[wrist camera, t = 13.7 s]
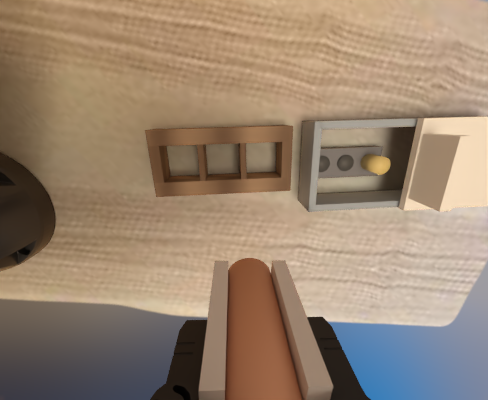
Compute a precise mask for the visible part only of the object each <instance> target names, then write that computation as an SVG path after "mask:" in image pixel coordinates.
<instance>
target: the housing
mask: <svg viewBox="0 0 488 400" xmlns="http://www.w3.org/2000/svg"><path fill="white" fill-rule="evenodd" d="M468 117H485V116H468ZM434 118H451V117H434ZM417 121H418V118H399V119H365V120H331V121H303V126H302V144H301V161H300V179H299V197H298V201H299V202H300V203H301V204H302V205H303V206H304V207H305V208H306V210H307V211H308V212H314V211H333V210H352V209H370V208H389V207H399V204H400V199H401V195H402V190H386V191H365V192H345V193H324V194H317V184H318V178H335V177H358V176H378V174H379V175H381V174H384V173H386V172H387V171H388V170H389V168H390V160H389V159H388V158H386V157H382V156H381V153H382V147H381V146H361V147H334V148H321V136H322V129H350V128H382V127H414V126H416V125H417Z"/></svg>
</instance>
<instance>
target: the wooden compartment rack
mask: <svg viewBox="0 0 488 400" xmlns="http://www.w3.org/2000/svg"><path fill="white" fill-rule="evenodd" d="M145 132H146V138H147V144H148V150H149V156H150V162H151V168H152V174H153V180H154V186H155V192H156V197H164V196H185V195H206V194H227V193H248V192H270V191H290V185H291V162H292V139H293V126H288V125H281V126H248V127H215V128H182V129H153V130H145ZM259 142H277V148H276V172H264V173H246V143H259ZM230 143H239V163H240V174H217V175H208V170H207V158H206V146H205V144H230ZM172 145H197V150H198V161H199V172H200V175H193V176H170V170H169V163H168V155H167V148H166V146H172Z"/></svg>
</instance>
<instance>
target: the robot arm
mask: <svg viewBox="0 0 488 400" xmlns="http://www.w3.org/2000/svg"><path fill="white" fill-rule="evenodd" d="M54 226H55V216H54V210H53V206H52V203H51V201H50V199H49V197H48V195H47V193H46V191H45V190H44V188H43V187H42V185H41V184H40V183H39V182H38V180H37V179H36V178H35V177H34V176H33V175H32V174H31V173H30V172H29V171H28V170H26V169H25V168H24V167H23V166H21V165H20V164H18V163H17V162H15V161H14V160H12V159H10V158H9V157H7V156H5V155H3V154H0V271H3V270H6V269H9V268H12V267H15V266H17V265H19V264H21V263H23V262H25V261H26V260H28V259H29V258H31V257H32V256H34V255H35V254H36V253H38V252H39V251H41V250H42V249H43V248H44V247H45V246H46V245H47V244H48V242H49V241H50V239H51V237H52V234H53V231H54ZM271 277H272V281H273V285H274V289H275V293H276V297H277V301H278V305H279V309H280V313H281V317H282V321H283V325H284V329H285V333H286V337H287V341H288V345H289V349H290V353H291V357H292V361H293V365H294V369H295V373H296V377H297V380H298V384H299V388H300V392H301V396H302V400H371V399H369V398H368V397H367V396H366V395H365V393H364V391H363V390H362V388H361V386H360V384H359V382H358V380H357V378H356V376H355V374H354V372H353V370H352V368H351V366H350V363H349V361H348V359H347V357H346V355H345V353H344V351H343V350H342V347H341V345H340V343H339V341H338V340H337V337H336V335H335V333H334V331H333V328H332V327H331V325H330V324H329V323H328V322H327V321H326V320H325V319H324V318H323V317H307V316H306V314H305V311H304V308H303V306H302V303H301V301H300V298H299V295H298V293H297V290H296V288H295V285H294V282H293V280H292V277H291V275H290V272H289V269H288V267H287V264H286V262H285V261H272V268H271ZM227 303H228V261H215V264H214V272H213V280H212V288H211V296H210V304H209V312H208V320H187V321H186V322H185V324H184V325H183V327H182V328H181V329H180V331H179V335H178V339H177V342H176V346H175V350H174V356H173V359H172V362H171V366H170V370H169V374H168V378H167V382H166V384H164V385H163V386H162V387H161V388H159V389H158V390H157V391H156V392H155V394H154V395H153V396H152V398H151V399H150V400H225V378H226V341H227Z"/></svg>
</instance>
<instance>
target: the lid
mask: <svg viewBox="0 0 488 400" xmlns="http://www.w3.org/2000/svg"><path fill="white" fill-rule="evenodd" d="M477 206H488V116H485V117H451V118H418V121H417V125H416V130H415V135H414V139H413V144H412V148H411V153H410V158H409V162H408V167H407V172H406V176H405V181H404V185H403V190H402V195H401V199H400V204H399V208H400V209H402V210H422V209H435V210H437V211H439V212H440V211H451V209H452V208H459V207H477Z"/></svg>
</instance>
